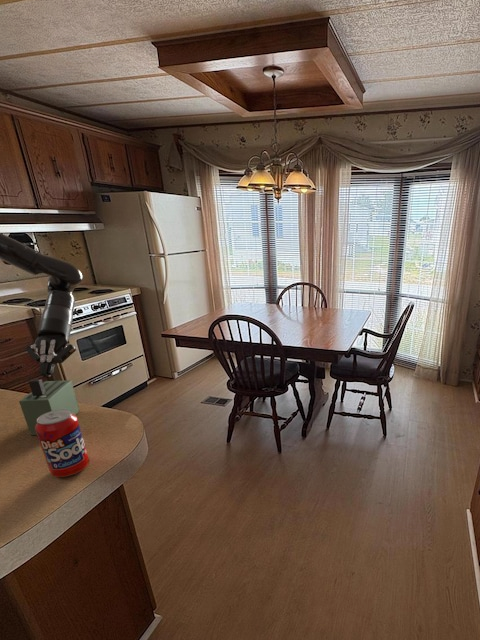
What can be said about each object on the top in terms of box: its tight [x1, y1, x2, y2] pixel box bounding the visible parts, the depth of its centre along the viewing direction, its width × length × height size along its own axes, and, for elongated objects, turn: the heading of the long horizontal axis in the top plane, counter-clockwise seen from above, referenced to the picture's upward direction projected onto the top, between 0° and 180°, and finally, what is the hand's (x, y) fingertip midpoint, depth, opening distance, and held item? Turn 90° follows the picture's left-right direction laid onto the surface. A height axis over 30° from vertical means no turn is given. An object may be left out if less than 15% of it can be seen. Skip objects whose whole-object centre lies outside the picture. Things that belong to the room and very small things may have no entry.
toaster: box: [18, 379, 81, 436], centre depth 100 cm, size 13×7×11 cm, turn 11°
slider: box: [28, 378, 46, 396], centre depth 94 cm, size 2×2×4 cm
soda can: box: [35, 409, 90, 478], centre depth 81 cm, size 8×8×15 cm
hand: (45, 375), depth 98 cm, fingers closed
